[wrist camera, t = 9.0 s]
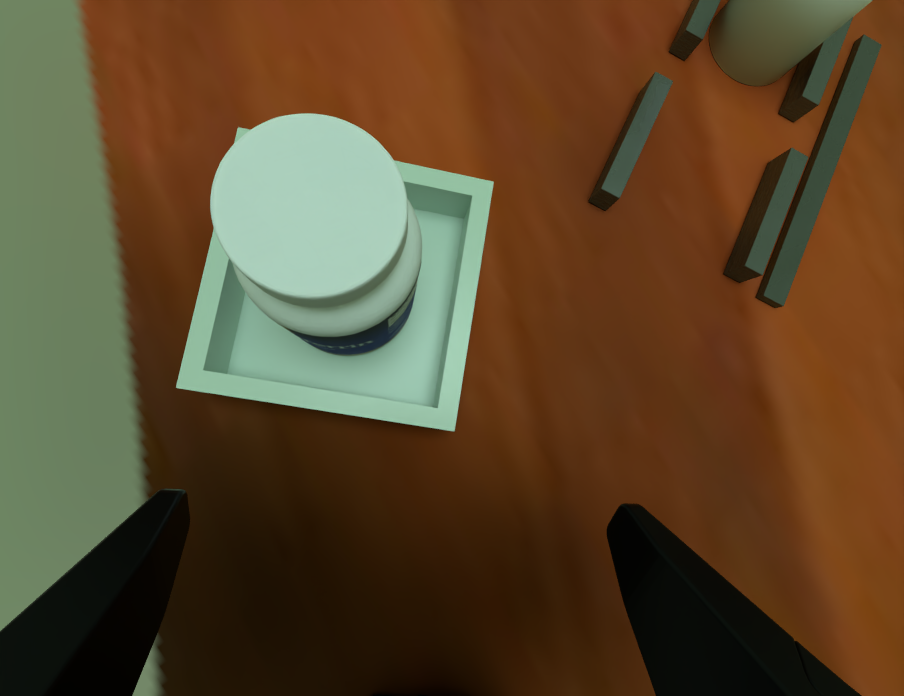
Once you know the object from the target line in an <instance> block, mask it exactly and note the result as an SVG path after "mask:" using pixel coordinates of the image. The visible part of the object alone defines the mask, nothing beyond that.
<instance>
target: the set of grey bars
mask: <svg viewBox="0 0 904 696" xmlns="http://www.w3.org/2000/svg"><path fill="white" fill-rule="evenodd" d="M719 2H720V0H693V1H692V3H691V5H690V7H689V9H688V11H687V13H686V16H685V18H684V20H683V22H682V24H681V26H680V29H679V31H678V33H677V35H676V37H675V39H674V41H673V44H672V46H671V48H670V50H669V52H670V53H672V54H674V55H675V56H677V57H679V58H681V59H683V60H684V61H685V60H686V58H687V57H688V56H689V55H690V54H691V53H692V51H693V50H694V49H695V48H696V47H697V46H698V44H699V43H700V42H701V41H702V40H703V38H704V35H705V33H706V31H707V29H708V27H709V24H710V22H711V20H712V18H713V16H714V13H715V11H716V9H717V7H718V5H719ZM852 18H853V17H852ZM852 18H851V19H850V20H849V21H847V22H846V23H845V24H844V25H843V26H841V27H840V28H839V29H838V30H837V31H836V32H834V33H833V34H832V35H831V36H830V37H828V38H827V39H826V40H825V41H824V42H822V43H821V44H820V45H819V46H818V47H816V48H815V49H814V50H813V51H812V52H811V53H809V54H808V55H807V56H806V57H805V58H803V59H802V60H801V61H800V62H799V65H798V67H797V69H796V72H795V74H794V77H793V79H792V82H791V84H790V87H789V89H788V92H787V94H786V97H785V99H784V101H783V104H782V106H781V109H780V111H779V114H780V115H782V116H784V117H786V118H787V119H789V120H791V121H793V122H795V121H796V120H798V119H799V118H801V117H802V116H804V115H805V114H806V113H808V112H809V111H811V110H812V109H814V108H815V107H816V106H818V105H819V103H820V100H821V97H822V95H823V92H824V90H825V87H826V85H827V82H828V80H829V77H830V74H831V72H832V69H833V67H834V64H835V62H836V59H837V57H838V54H839V52H840V49H841V46H842V44H843V41H844V39H845V36H846V34H847V31H848V29H849V26H850V23H851V21H852ZM880 48H881V44H879V43H878V42H876V41H874V40H872V39H871V38H869V37H867V36H866V35H863V36H861V37H860V38H859V39H857V40H856V41H855V43H854V46H853V48H852V51H851V53H850V56H849V58H848V61H847V64H846V66H845V69H844V71H843V74H842V77H841V79H840V82H839V84H838V87H837V89H836V92H835V95H834V97H833V100H832V102H831V105H830V108H829V110H828V113H827V115H826V118H825V120H824V123H823V126H822V128H821V131H820V133H819V136H818V139H817V141H816V144H815V146H814V149H813V151H812V154H811V157H810V159H809V162H808V164H807V167H806V170H805V172H804V175H803V177H802V180H801V183H800V185H799V188H798V190H797V193H796V195H795V198H794V201H793V203H792V206H791V208H790V211H789V214H788V216H787V219H786V221H785V224H784V226H783V229H782V232H781V234H780V237H779V239H778V242H777V245H776V247H775V250H774V252H773V255H772V257H771V260H770V263H769V265H768V268H767V270H766V273H765V276H764V278H763V281H762V283H761V286H760V288H759V291H758V294H757V296H756V298H758V299H760V300H762V301H763V302H765V303H767V304H769V305H771V306H773V307H775V308H778V307H782V306H784V304H785V301H786V298H787V296H788V293H789V290H790V288H791V285H792V282H793V280H794V277H795V274H796V272H797V269H798V266H799V264H800V261H801V258H802V256H803V253H804V250H805V248H806V245H807V242H808V240H809V237H810V234H811V232H812V229H813V226H814V224H815V221H816V218H817V216H818V213H819V210H820V208H821V205H822V202H823V200H824V197H825V194H826V192H827V189H828V186H829V184H830V181H831V178H832V176H833V173H834V170H835V168H836V165H837V162H838V160H839V157H840V154H841V152H842V149H843V146H844V144H845V141H846V138H847V136H848V133H849V130H850V128H851V125H852V122H853V120H854V117H855V114H856V112H857V109H858V106H859V104H860V101H861V98H862V96H863V93H864V90H865V88H866V85H867V82H868V80H869V77H870V74H871V72H872V69H873V66H874V64H875V61H876V58H877V56H878V53H879V50H880ZM672 82H673V81H671V80H670V79H668V78H666V77H664V76H663V75H661V74H659V73H657V72H655V73H654V74H653V76H652V77H651V78H650V80H649V81H648V82H647V83H646V85H645V86H644V87H643V88H642V90H641V91H640V93H639V95H638V97H637V99H636V101H635V103H634V105H633V108H632V110H631V112H630V114H629V116H628V118H627V120H626V122H625V125H624V127H623V129H622V131H621V133H620V135H619V137H618V140H617V142H616V144H615V146H614V148H613V150H612V152H611V155H610V157H609V159H608V161H607V163H606V165H605V167H604V169H603V172H602V174H601V176H600V178H599V180H598V182H597V184H596V187H595V189H594V191H593V193H592V195H591V197H590V199H589V201H588V202H590V203H592V204H594V205H595V206H597V207H599V208H601V209H603V210H605V211H606V210H607V209H608V208H609V207H610V206H612V205H613V204H614V203H615V202H616V201H617V200H618V199H619V198H620V196H621V194H622V192H623V190H624V187H625V185H626V183H627V181H628V179H629V177H630V174H631V172H632V170H633V168H634V166H635V163H636V161H637V159H638V157H639V155H640V152H641V150H642V148H643V146H644V144H645V141H646V139H647V137H648V135H649V133H650V131H651V128H652V126H653V124H654V122H655V120H656V117H657V115H658V113H659V111H660V109H661V106H662V104H663V102H664V100H665V98H666V96H667V93H668V91H669V89H670V87H671V85H672ZM807 159H808V157H807V156H806V155H804V154H802V153H800V152H798V151H797V150H795V149H793V148H790V149H789V150H787V151H786V152H784V153H783V154H781V155H779V156H778V157H776V158H775V159H773V160H772V161H770V162H769V163H768V164H767V167H766V169H765V172H764V174H763V177H762V179H761V182H760V184H759V187H758V189H757V192H756V194H755V197H754V199H753V202H752V204H751V207H750V209H749V212H748V214H747V217H746V219H745V222H744V224H743V226H742V229H741V231H740V234H739V236H738V239H737V241H736V244H735V246H734V249H733V251H732V254H731V256H730V259H729V261H728V264H727V266H726V269H725V271H724V275H726V276H728V277H730V278H732V279H734V280H735V281H737V282H739V283H741V282H744V281H747V280H750V279H753V278H755V277H758V276H761V275H763V273H764V270H765V267H766V265H767V262H768V260H769V257H770V254H771V252H772V249H773V247H774V244H775V242H776V239H777V236H778V234H779V231H780V229H781V226H782V224H783V221H784V218H785V216H786V213H787V211H788V208H789V205H790V203H791V200H792V198H793V195H794V193H795V190H796V187H797V185H798V182H799V180H800V177H801V175H802V172H803V169H804V167H805V164H806V162H807Z"/></svg>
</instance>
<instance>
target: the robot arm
mask: <svg viewBox="0 0 904 696" xmlns="http://www.w3.org/2000/svg"><path fill="white" fill-rule="evenodd" d="M189 525H190V514H189V506H188V497H187V493H186V491H185V490H182V489H162V490H159V491H158V492H156V493H155V494H154V495H153V496H152V497H151V498H150V499H148V500H147V501H146V502H145V503H144V504H143V505H142V506H141V507H139V508H138V509H137V510H136V511H135V512H134V513H133V514H132V515H130V516H129V517H128V518H127V519H126V520H125V521H124V522H123V523H122V524H120V525H119V526H118V527H117V528H116V529H115V530H114V531H112V533H110V534H109V535H108V536H107V537H106V538H105V539H104V540H102V541H101V542H100V543H99V544H98V545H97V546H96V547H94V548H93V549H92V550H91V551H90V552H89V553H88V554H87V555H85V556H84V558H82V559H81V560H80V561H79V562H78V563H77V564H75V565H74V566H73V567H72V568H71V569H70V570H69V571H68V572H66V573H65V574H64V575H63V576H62V577H61V578H60V579H59V580H57V581H56V582H55V583H54V584H53V585H52V586H51V587H50V588H48V589H47V590H46V591H45V592H44V593H43V594H42V595H40V596H39V597H38V598H37V599H36V600H35V601H34V602H33V603H32V604H30V605H29V606H28V607H27V608H26V609H25V610H24V611H23V612H21V614H19V615H18V616H17V617H16V618H15V619H14V620H12V621H11V622H10V623H9V624H8V625H7V626H6V627H5V628H3V629H2V630H1V631H0V696H132V694H133V692H134V690H135V687H136V685H137V682H138V680H139V677H140V675H141V672H142V670H143V667H144V665H145V662H146V660H147V658H148V655H149V653H150V650H151V648H152V645H153V643H154V640H155V638H156V635H157V633H158V630H159V628H160V625H161V622H162V620H163V617H164V614H165V611H166V607H167V604H168V601H169V597H170V594H171V590H172V587H173V583H174V580H175V576H176V573H177V569H178V566H179V562H180V559H181V555H182V552H183V548H184V544H185V541H186V537H187V534H188V530H189ZM607 539H608V543H609V547H610V551H611V555H612V559H613V563H614V567H615V571H616V575H617V579H618V583H619V587H620V591H621V594H622V598H623V602H624V605H625V608H626V611H627V614H628V617H629V620H630V623H631V626H632V629H633V631H634V634H635V637H636V640H637V643H638V646H639V648H640V651H641V654H642V657H643V660H644V663H645V665H646V668H647V671H648V674H649V677H650V680H651V683H652V685H653V688H654V691H655V694H656V696H861V695H860V694H859V693H858V692H856V691H855V690H854V689H853V688H851V687H850V686H849V685H848V684H846V683H845V682H844V681H843V680H842V679H840V678H839V677H838V676H837V675H836V674H835V673H833V672H832V671H831V670H830V669H829V668H828V667H826V666H825V665H824V664H823V663H822V662H820V661H819V660H818V659H817V658H816V657H815V656H813V655H812V654H811V653H810V652H809V651H808V650H807V649H805V648H804V647H803V646H802V645H801V644H800V643H799V642H797V641H794V639H793V637H792V636H790V635H789V634H788V633H787V632H786V631H785V630H783V629H782V628H781V627H780V626H779V625H778V624H777V623H775V622H774V621H773V620H772V619H771V618H770V617H769V616H767V615H766V614H765V613H764V612H763V611H762V610H761V609H759V608H758V607H757V606H756V605H755V604H754V603H752V602H751V601H750V600H749V599H748V598H747V597H746V596H744V595H743V594H742V593H741V592H740V591H739V590H738V589H736V588H735V587H734V586H733V585H732V584H731V583H730V582H728V581H727V580H726V579H725V578H724V577H723V576H721V575H720V574H719V573H718V572H717V571H716V570H715V569H713V568H712V567H711V566H710V565H709V564H708V563H707V562H705V561H704V560H703V559H702V558H701V557H700V556H699V555H697V554H696V553H695V552H694V551H693V550H692V549H691V548H689V547H688V546H687V545H686V544H685V543H684V542H682V541H681V540H680V539H679V538H678V537H677V536H676V535H674V534H673V533H672V532H671V531H670V530H669V529H668V528H666V527H665V526H664V525H663V524H662V523H661V522H660V521H658V520H657V519H656V518H655V517H654V516H653V515H651V514H650V513H649V512H648V511H647V510H646V509H645V508H643V507H642V506H641V505H638V504H626V503H625V504H621V505H620V506H619V507H618V509H617V511H616V512H615V514H614V516H613V517H612V519H611V521H610V522H609V524H608V526H607ZM373 696H390V695H380V694H378V695H373ZM418 696H424V695H418Z"/></svg>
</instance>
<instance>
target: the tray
mask: <svg viewBox="0 0 904 696" xmlns="http://www.w3.org/2000/svg"><path fill="white" fill-rule="evenodd" d="M248 131H250V130H248V129H244V128H239V127H238V130H237V134H236V138H235V142H234V143H236V142H237V141H238V140H239V139H240V138H241V137H242V136H243V135H244V134H245V133H247V132H248ZM394 162H395V163H396V165H397V167H398V169H399V171H400V173H401V176H402V179H403V182H404V185H405V188H406V193H407V198H408V200H409V201H410V203H411V205H412V207H413V209H414V211H415V213H416V216H417V219H418V222H419V226H420V230H421V236H422V259H421V268H420V272H419V276H418V281H417V287H416V292H415V297H414V301H413V306H412V309H411V312H410V315H409V318H408V320H407V322H406V323H405V325H404V327H403V328H402V330H401V331H400V332H399V333H398V335H397V336H396V337H395V338H394V339H393V340H391V341H390V342H389V343H388V344H386V345H385V346H383V347H381V348H380V349H378V350H376V351H373V352H371V353H368V354H364V355H359V356H338V355H333V354H329V353H326V352H323V351H321V350H319V349H317V348H315V347H313V346H311V345H310V344H308V343H307V342H305V341H304V340H302V339H301V338H299V337H298V336H296V335H294V334H293V333H291V332H290V331H288V330H287V329H285V328H284V327H282V326H281V325H279V324H277V323H276V322H275V321H273V320H272V319H270V318H269V317H268V316H267V315H266V314H264V313H263V312H262V311H261V310H260V309H259V308H258V307H257V306H256V305H255V304H254V303H253V302H252V300H251V299H250V298H249V296H248V295H247V294H246V292H245V291H244V289H243V288H242V286H241V284H240V282H239V280H238V278H237V275H236V273H235V270H234V267H233V263H232V262H231V260H230V259H229V258H228V256H227V255H226V253H225V251H224V250H223V248H222V246H221V244H220V242H219V240H218V238H217V236H216V233H215V230H213V235H212V239H211V243H210V247H209V251H208V256H207V260H206V264H205V268H204V272H203V277H202V281H201V285H200V289H199V293H198V297H197V302H196V306H195V310H194V314H193V318H192V323H191V327H190V331H189V335H188V339H187V344H186V348H185V352H184V356H183V360H182V365H181V369H180V373H179V377H178V381H177V385H176V388H180V389H187V390H193V391H200V392H206V393H212V394H219V395H225V396H231V397H238V398H244V399H251V400H257V401H263V402H270V403H276V404H283V405H289V406H295V407H302V408H308V409H314V410H321V411H327V412H334V413H340V414H346V415H353V416H359V417H365V418H372V419H378V420H385V421H391V422H397V423H404V424H410V425H417V426H423V427H429V428H436V429H442V430H448V431H455V425H456V419H457V412H458V406H459V399H460V393H461V387H462V380H463V374H464V368H465V361H466V355H467V348H468V342H469V336H470V329H471V323H472V317H473V310H474V304H475V297H476V291H477V285H478V278H479V272H480V266H481V259H482V253H483V247H484V240H485V234H486V227H487V221H488V215H489V208H490V202H491V196H492V189H493V183H494V182H492V181H487V180H483V179H478V178H473V177H469V176H464V175H459V174H455V173H450V172H445V171H441V170H436V169H431V168H426V167H422V166H417V165H412V164H408V163H403V162H398V161H394Z"/></svg>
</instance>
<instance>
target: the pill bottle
mask: <svg viewBox="0 0 904 696" xmlns="http://www.w3.org/2000/svg"><path fill="white" fill-rule="evenodd" d="M210 209H211V217H212V222H213V226H214V230H215V233H216V236H217V238H218V240H219V242H220V244H221V246H222V248H223V250H224V251H225V253H226V255H227V256H228V258H229V259H230V260H231V262H232V263H233V267H234V270H235V273H236V275H237V278H238V280H239V282H240V284H241V286H242V288H243V289H244V291H245V292H246V294H247V295H248V296H249V298H250V299H251V300H252V302H253V303H254V304H255V305H256V306H257V307H258V308H259V309H260V310H261V311H262V312H263V313H264V314H266V315H267V316H268V317H269V318H270V319H272V320H273V321H275V322H276V323H277V324H279V325H281V326H282V327H284V328H285V329H287V330H288V331H290V332H291V333H293V334H294V335H296V336H298V337H299V338H301V339H302V340H304V341H305V342H307V343H308V344H310V345H311V346H313V347H315V348H317V349H319V350H321V351H323V352H326V353H329V354H333V355H338V356H359V355H364V354H368V353H371V352H373V351H376V350H378V349H380V348H381V347H383V346H385V345H386V344H388V343H389V342H390V341H391V340H393V339H394V338H395V337H396V336H397V335H398V333H399V332H400V331H401V330H402V328H403V327H404V325H405V323H406V322H407V320H408V318H409V315H410V312H411V309H412V306H413V301H414V297H415V292H416V287H417V281H418V276H419V272H420V268H421V259H422V236H421V230H420V226H419V222H418V219H417V216H416V213H415V211H414V209H413V207H412V205H411V203H410V201H409V200H408V198H407V193H406V188H405V185H404V182H403V179H402V176H401V173H400V171H399V169H398V167H397V165H396V163H395V162H394V160H393V159H392V157H391V156H390V154H389V153H388V152H387V151H386V150H385V149H384V147H383V146H382V145H381V144H380V143H379V142H378V141H377V140H376V139H375V138H374V137H372V136H371V135H370V134H368V133H367V132H366V131H364V130H362V129H361V128H359V127H357V126H355V125H353V124H351V123H349V122H347V121H344V120H342V119H339V118H336V117H332V116H327V115H320V114H293V115H286V116H280V117H277V118H274V119H271V120H269V121H267V122H264V123H262V124H260V125H258V126H256V127H255V128H253V129H251V130H250V131H248V132H247V133H245V134H244V135H243V136H242V137H241V138H240V139H239V140H238V141H237V142H236V143H234V144H233V146H232V147H231V148H230V149H229V151H228V152H227V153H226V155H225V156H224V158H223V160H222V161H221V163H220V165H219V167H218V169H217V172H216V175H215V177H214V181H213V185H212V191H211V199H210Z"/></svg>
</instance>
